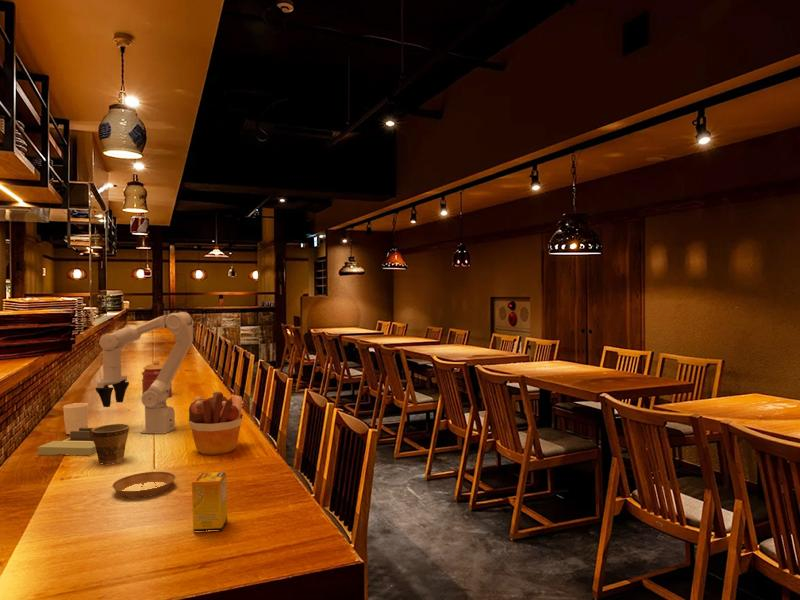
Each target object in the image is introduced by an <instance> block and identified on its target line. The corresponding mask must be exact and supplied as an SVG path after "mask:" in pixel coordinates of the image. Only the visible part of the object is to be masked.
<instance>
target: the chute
mask: <svg viewBox="0 0 800 600" xmlns="http://www.w3.org/2000/svg"><path fill="white" fill-rule="evenodd" d="M94 428H95V427H88V428H79V431H70V435H69V436H70V437H69V438H70V441H93V439H92V438H91V436H90V430H91V429H94Z"/></svg>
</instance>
